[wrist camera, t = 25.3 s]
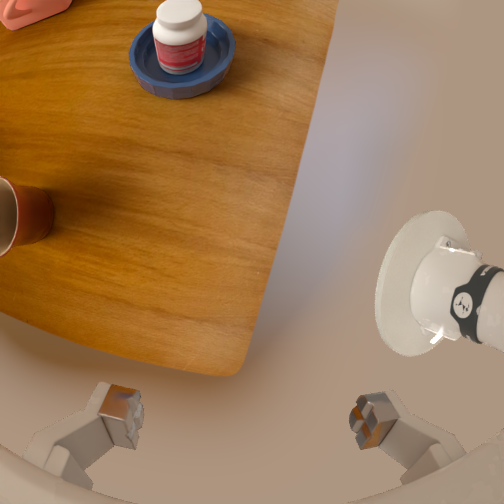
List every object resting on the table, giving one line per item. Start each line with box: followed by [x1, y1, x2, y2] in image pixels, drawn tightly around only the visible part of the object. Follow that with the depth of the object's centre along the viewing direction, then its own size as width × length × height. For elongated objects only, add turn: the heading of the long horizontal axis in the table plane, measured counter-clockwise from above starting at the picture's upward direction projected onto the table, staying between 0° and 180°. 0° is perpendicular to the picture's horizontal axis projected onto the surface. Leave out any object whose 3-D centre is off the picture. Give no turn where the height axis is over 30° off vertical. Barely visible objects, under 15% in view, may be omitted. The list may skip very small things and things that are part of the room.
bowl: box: [129, 13, 236, 99], centre depth 27 cm, size 13×14×4 cm
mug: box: [0, 176, 54, 257], centre depth 23 cm, size 12×9×10 cm
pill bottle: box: [153, 0, 207, 75], centre depth 23 cm, size 6×6×11 cm
